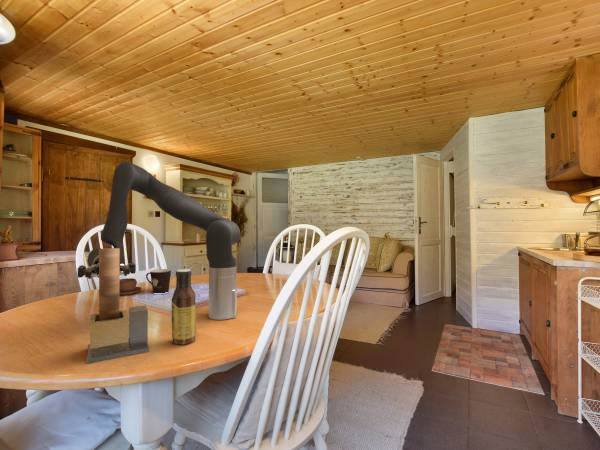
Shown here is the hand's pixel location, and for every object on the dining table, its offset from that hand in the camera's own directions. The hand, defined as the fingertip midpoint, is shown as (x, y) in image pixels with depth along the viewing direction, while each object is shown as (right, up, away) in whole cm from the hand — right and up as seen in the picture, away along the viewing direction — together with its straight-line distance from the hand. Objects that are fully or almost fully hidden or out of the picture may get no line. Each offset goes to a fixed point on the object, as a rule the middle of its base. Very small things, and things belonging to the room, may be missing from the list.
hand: (108, 273), depth 87 cm
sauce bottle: (+21, -19, 0) cm, 28 cm away
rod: (+4, -15, -7) cm, 17 cm away
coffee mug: (-11, -17, +56) cm, 60 cm away
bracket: (+6, -19, -6) cm, 21 cm away
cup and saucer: (-24, -17, +53) cm, 61 cm away
